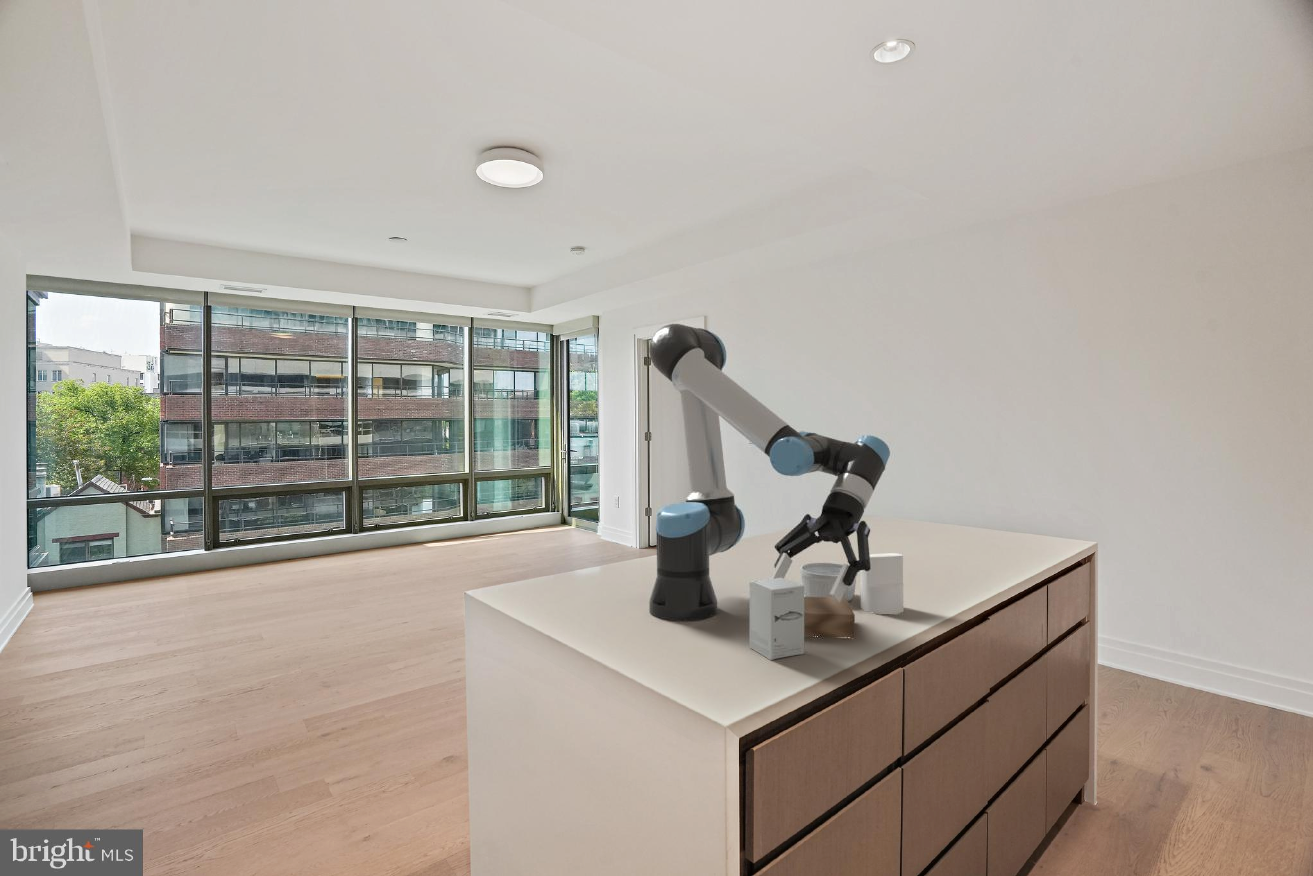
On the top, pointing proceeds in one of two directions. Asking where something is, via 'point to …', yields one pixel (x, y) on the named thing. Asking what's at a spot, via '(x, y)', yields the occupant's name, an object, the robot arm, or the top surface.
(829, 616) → the walnut block
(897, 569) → the cylinder with rectangular tab
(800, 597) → the supplement box
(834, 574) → the ramekin
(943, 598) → the top surface
